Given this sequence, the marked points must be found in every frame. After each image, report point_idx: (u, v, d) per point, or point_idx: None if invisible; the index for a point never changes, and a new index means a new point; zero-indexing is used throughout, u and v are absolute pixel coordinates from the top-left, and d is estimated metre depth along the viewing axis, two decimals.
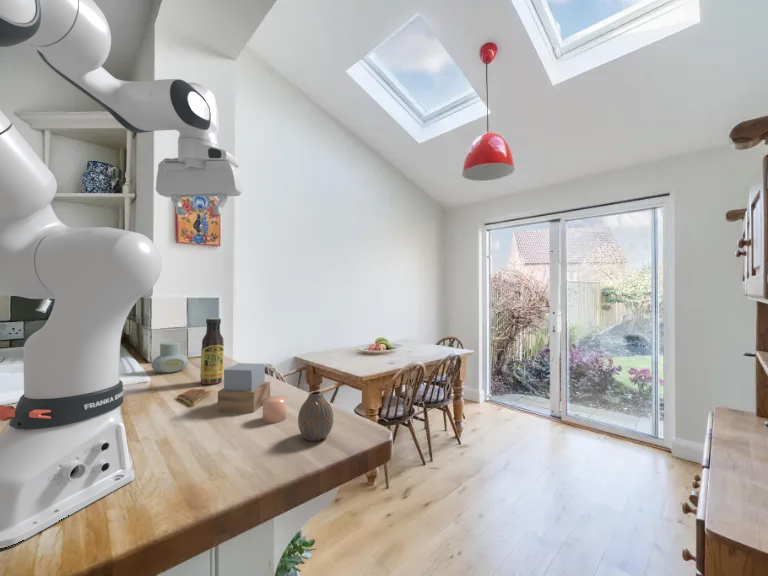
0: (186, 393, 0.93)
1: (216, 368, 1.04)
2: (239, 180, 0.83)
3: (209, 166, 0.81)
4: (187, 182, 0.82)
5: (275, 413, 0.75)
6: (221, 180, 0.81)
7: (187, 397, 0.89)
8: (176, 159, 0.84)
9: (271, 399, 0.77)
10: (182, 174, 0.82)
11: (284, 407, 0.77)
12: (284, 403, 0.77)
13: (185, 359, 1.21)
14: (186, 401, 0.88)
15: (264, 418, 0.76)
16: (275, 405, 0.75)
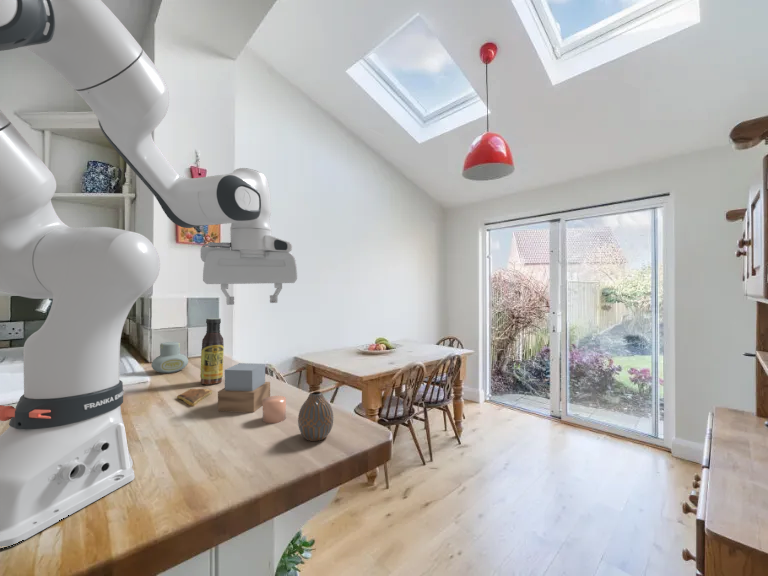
0: (186, 393, 0.93)
1: (216, 368, 1.04)
2: None
3: (271, 256, 0.79)
4: (244, 272, 0.77)
5: (275, 414, 0.75)
6: (283, 270, 0.81)
7: (187, 397, 0.89)
8: (225, 244, 0.76)
9: (271, 399, 0.77)
10: (237, 262, 0.76)
11: (284, 407, 0.77)
12: (284, 403, 0.77)
13: (185, 359, 1.21)
14: (186, 401, 0.88)
15: (264, 418, 0.76)
16: (275, 405, 0.75)
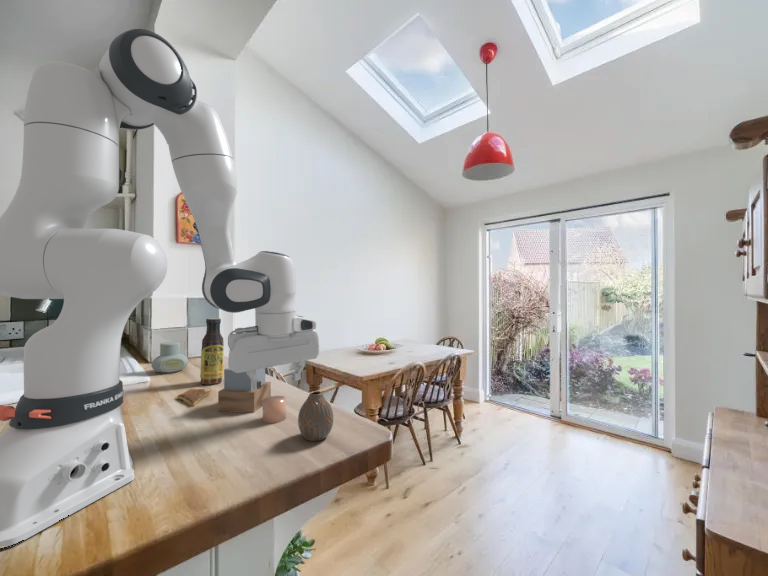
0: (186, 393, 0.93)
1: (216, 368, 1.04)
2: None
3: (297, 336, 0.79)
4: (272, 355, 0.76)
5: (275, 413, 0.75)
6: (306, 348, 0.81)
7: (187, 397, 0.89)
8: (252, 329, 0.74)
9: (271, 399, 0.77)
10: (265, 346, 0.75)
11: (284, 407, 0.77)
12: (284, 403, 0.77)
13: (185, 359, 1.21)
14: (186, 401, 0.88)
15: (264, 418, 0.76)
16: (275, 405, 0.75)
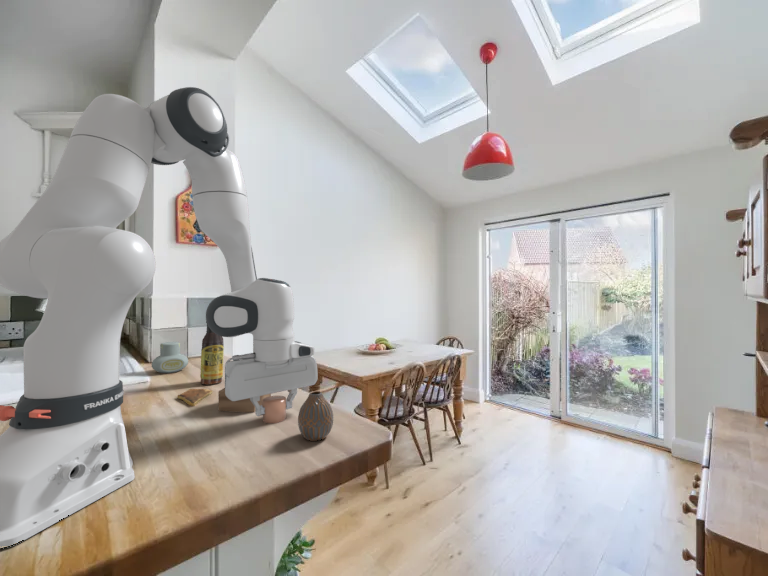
0: (186, 393, 0.93)
1: (216, 368, 1.04)
2: None
3: (295, 363, 0.78)
4: (269, 382, 0.75)
5: (275, 413, 0.75)
6: (304, 374, 0.80)
7: (187, 397, 0.89)
8: (250, 356, 0.74)
9: (271, 399, 0.77)
10: (262, 373, 0.74)
11: (284, 407, 0.77)
12: (284, 403, 0.77)
13: (185, 359, 1.21)
14: (186, 401, 0.88)
15: (264, 418, 0.76)
16: (276, 405, 0.75)
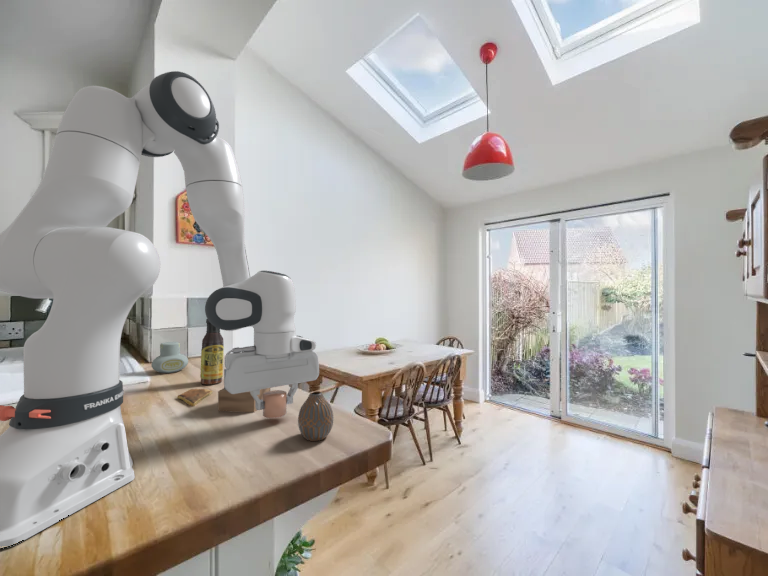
0: (186, 393, 0.93)
1: (216, 368, 1.04)
2: None
3: (296, 357, 0.77)
4: (269, 376, 0.74)
5: (275, 408, 0.74)
6: (306, 369, 0.79)
7: (187, 397, 0.89)
8: (250, 349, 0.73)
9: (271, 393, 0.76)
10: (262, 367, 0.73)
11: (284, 401, 0.76)
12: (284, 397, 0.76)
13: (185, 359, 1.21)
14: (186, 401, 0.88)
15: (264, 412, 0.75)
16: (276, 400, 0.74)
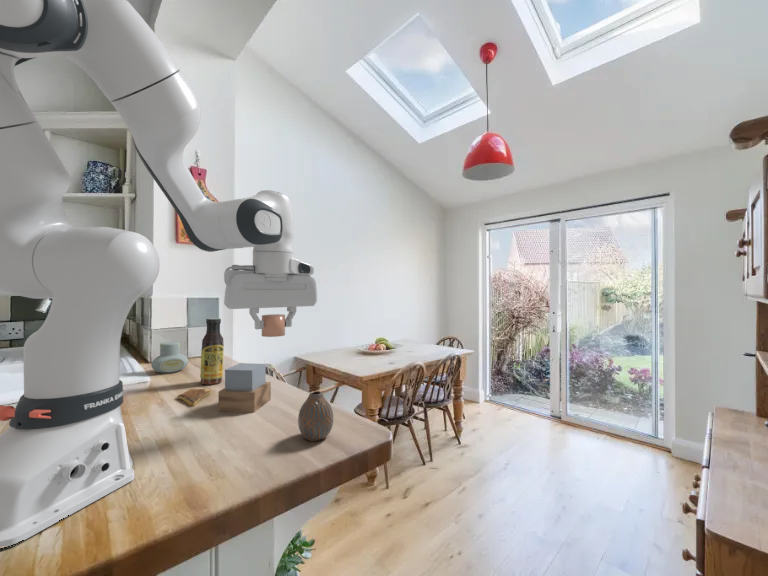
0: (186, 393, 0.93)
1: (216, 368, 1.04)
2: None
3: (294, 280, 0.78)
4: (268, 295, 0.75)
5: (275, 327, 0.75)
6: (304, 294, 0.80)
7: (187, 397, 0.89)
8: (249, 267, 0.73)
9: (270, 315, 0.77)
10: (262, 286, 0.74)
11: (283, 323, 0.77)
12: (283, 319, 0.77)
13: (185, 359, 1.21)
14: (186, 401, 0.88)
15: (263, 332, 0.75)
16: (275, 319, 0.75)
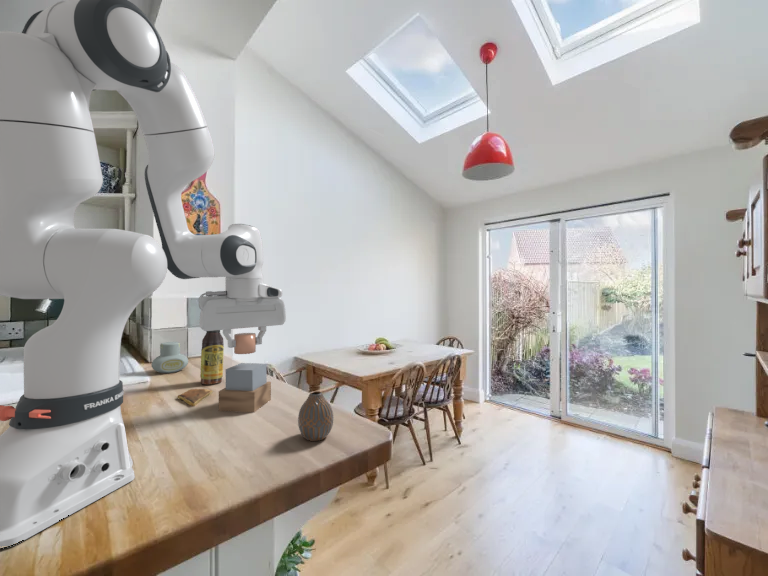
0: (186, 393, 0.93)
1: (216, 368, 1.04)
2: None
3: (264, 302, 0.87)
4: (239, 317, 0.84)
5: (245, 345, 0.84)
6: (273, 314, 0.89)
7: (187, 397, 0.89)
8: (222, 293, 0.83)
9: (242, 334, 0.86)
10: (233, 309, 0.83)
11: (254, 341, 0.86)
12: (254, 337, 0.86)
13: (185, 359, 1.21)
14: (187, 401, 0.88)
15: (235, 350, 0.85)
16: (245, 338, 0.84)
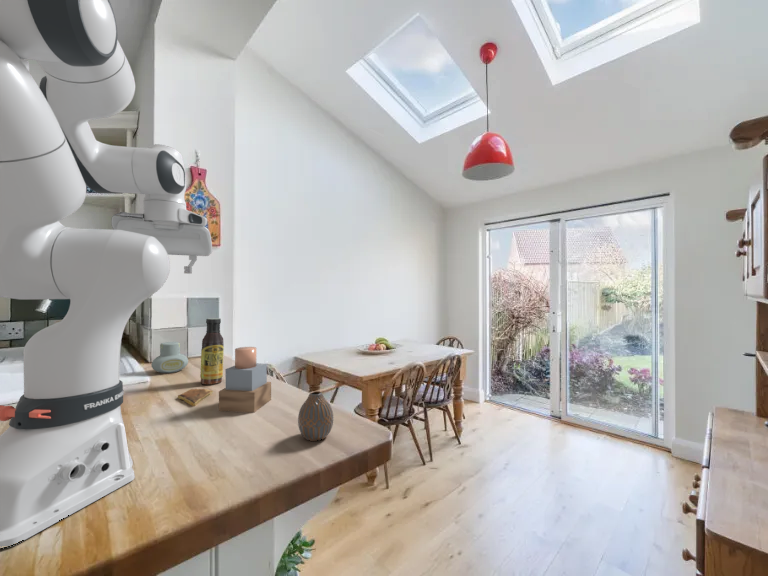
0: (187, 393, 0.93)
1: (216, 368, 1.04)
2: None
3: (186, 229, 0.85)
4: None
5: (246, 360, 0.84)
6: (197, 243, 0.87)
7: (188, 397, 0.89)
8: (138, 215, 0.80)
9: (243, 348, 0.86)
10: (150, 232, 0.81)
11: (255, 355, 0.86)
12: (255, 352, 0.86)
13: (185, 359, 1.21)
14: (187, 401, 0.88)
15: (236, 364, 0.85)
16: (247, 353, 0.84)
